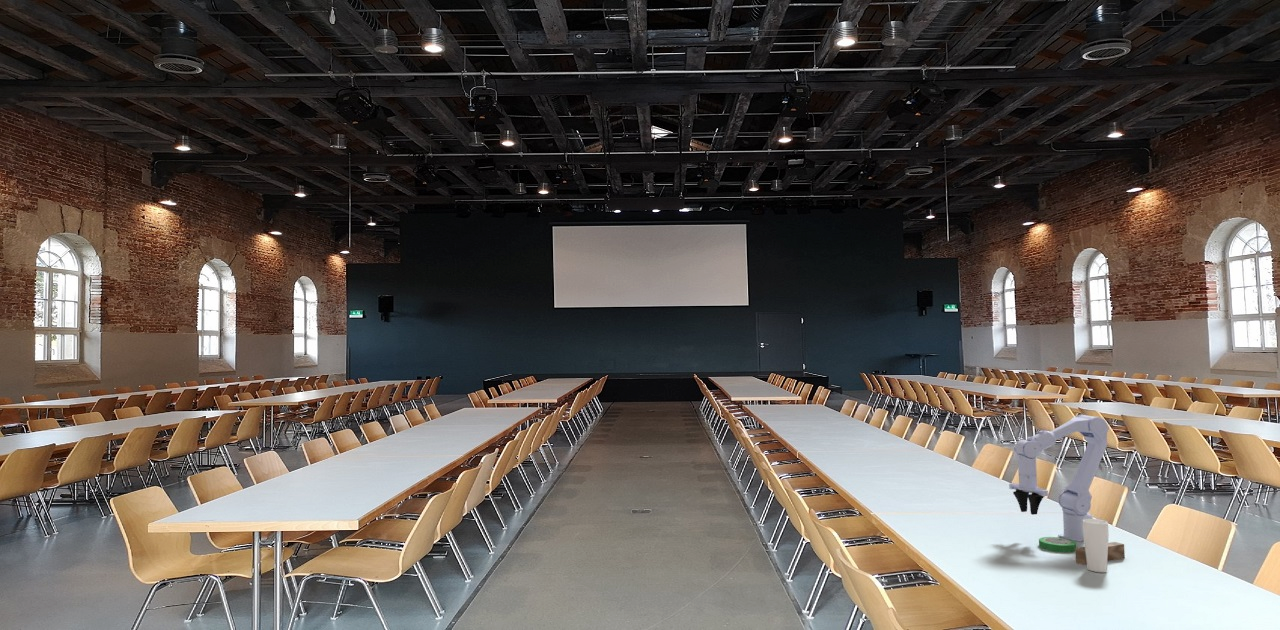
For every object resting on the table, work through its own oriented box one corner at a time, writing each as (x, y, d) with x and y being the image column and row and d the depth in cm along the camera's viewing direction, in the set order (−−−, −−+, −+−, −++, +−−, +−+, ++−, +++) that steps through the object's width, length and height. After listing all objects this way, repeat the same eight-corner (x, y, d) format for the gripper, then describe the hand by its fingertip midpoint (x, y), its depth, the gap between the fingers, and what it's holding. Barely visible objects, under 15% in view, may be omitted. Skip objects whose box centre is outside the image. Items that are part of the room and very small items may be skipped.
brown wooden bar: (1115, 555, 236) (1115, 541, 237) (1124, 558, 234) (1124, 544, 234) (1075, 562, 230) (1075, 548, 230) (1084, 565, 227) (1083, 550, 227)
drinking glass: (1106, 567, 224) (1104, 519, 225) (1113, 574, 218) (1110, 524, 218) (1081, 566, 227) (1079, 517, 227) (1087, 572, 220) (1085, 523, 221)
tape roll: (1032, 544, 252) (1032, 536, 252) (1065, 544, 252) (1064, 536, 252) (1049, 553, 241) (1049, 545, 241) (1083, 553, 241) (1083, 545, 241)
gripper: (1002, 472, 263) (1003, 509, 262) (1036, 478, 249) (1038, 518, 249) (1017, 470, 265) (1018, 507, 265) (1051, 477, 252) (1053, 516, 251)
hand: (1029, 512), depth 257 cm, fingers open, 4 cm apart
